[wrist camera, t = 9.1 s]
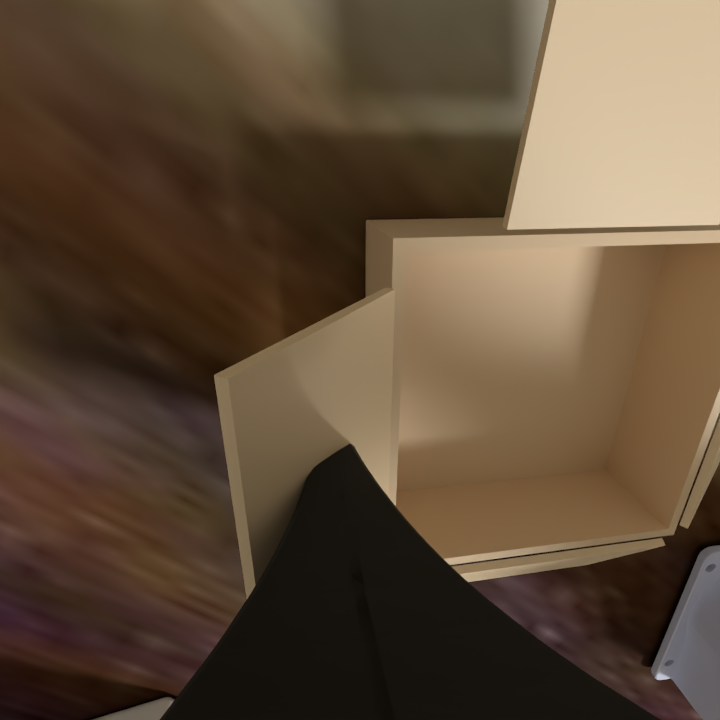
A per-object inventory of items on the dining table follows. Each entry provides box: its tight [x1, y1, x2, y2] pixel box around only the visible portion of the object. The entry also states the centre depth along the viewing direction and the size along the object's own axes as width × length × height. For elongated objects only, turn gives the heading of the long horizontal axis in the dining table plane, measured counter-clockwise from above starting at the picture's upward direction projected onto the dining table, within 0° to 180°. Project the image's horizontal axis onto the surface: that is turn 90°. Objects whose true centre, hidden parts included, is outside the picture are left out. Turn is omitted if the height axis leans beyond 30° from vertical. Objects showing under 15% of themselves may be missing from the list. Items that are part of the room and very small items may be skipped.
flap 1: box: [214, 288, 395, 599], centre depth 9 cm, size 8×1×5 cm
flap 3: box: [452, 538, 665, 582], centre depth 16 cm, size 1×9×5 cm
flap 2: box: [502, 0, 720, 230], centre depth 9 cm, size 1×5×5 cm
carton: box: [366, 217, 720, 565], centre depth 14 cm, size 10×10×4 cm
